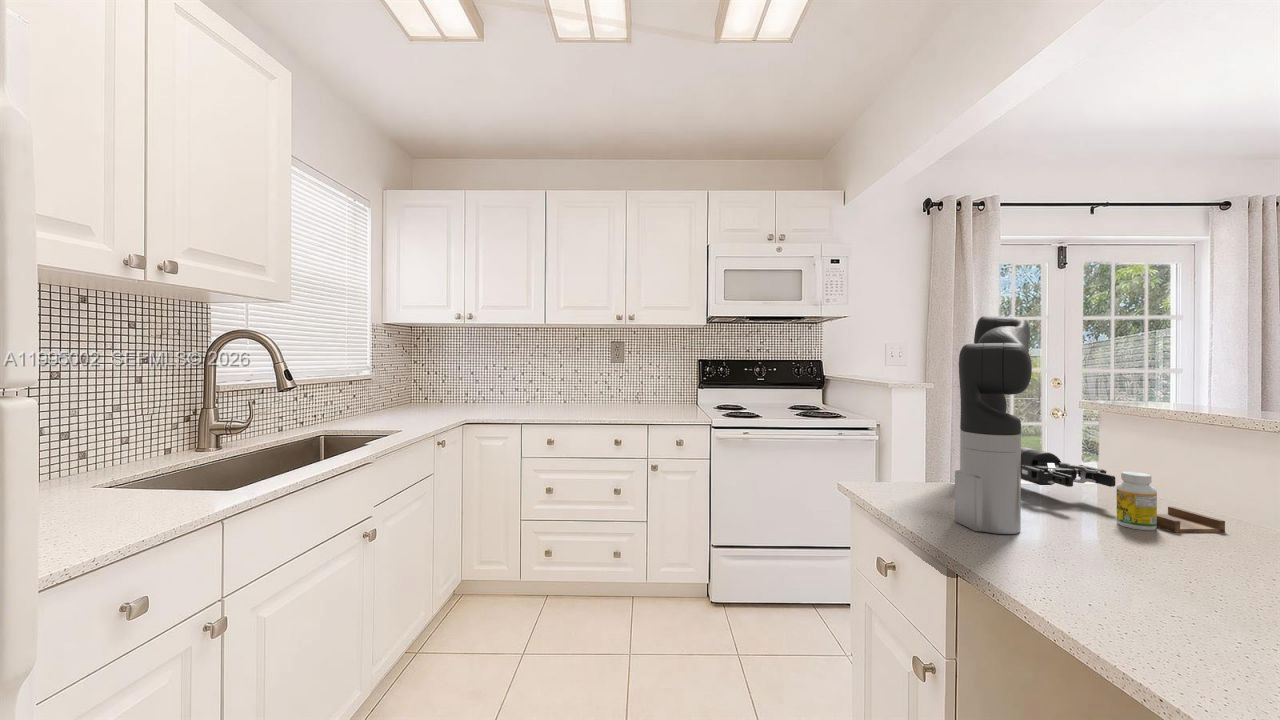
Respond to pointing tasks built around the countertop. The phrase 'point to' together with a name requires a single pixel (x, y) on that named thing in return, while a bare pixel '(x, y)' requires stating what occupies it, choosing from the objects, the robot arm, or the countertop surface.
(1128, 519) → the supplement bottle
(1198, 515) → the cradle
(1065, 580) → the countertop surface
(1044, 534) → the countertop surface
